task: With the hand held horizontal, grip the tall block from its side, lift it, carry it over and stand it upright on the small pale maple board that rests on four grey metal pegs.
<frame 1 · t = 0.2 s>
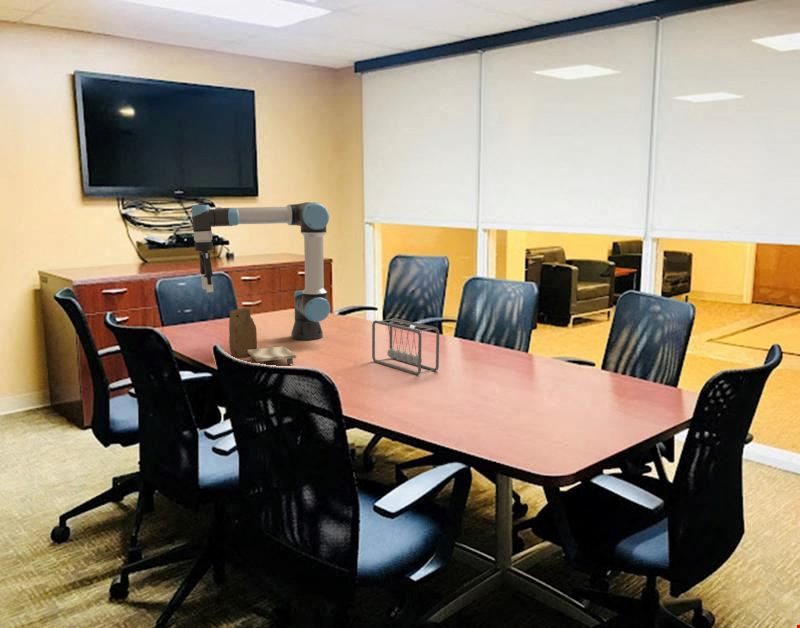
hand: (207, 290, 297), 27 cm above the table, tool pointing down, fingers open, 13 cm apart
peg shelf: (271, 362, 283), on the table
block: (243, 355, 295), on the table
newton's cradle: (404, 367, 278), on the table
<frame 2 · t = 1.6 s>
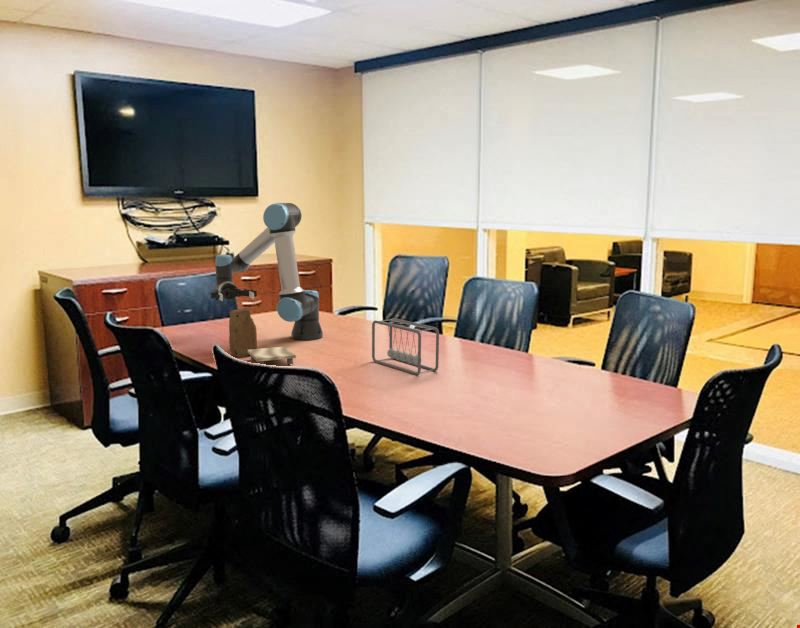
hand: (237, 297, 299), 24 cm above the table, tool horizontal, fingers open, 13 cm apart
nothing on the table moved.
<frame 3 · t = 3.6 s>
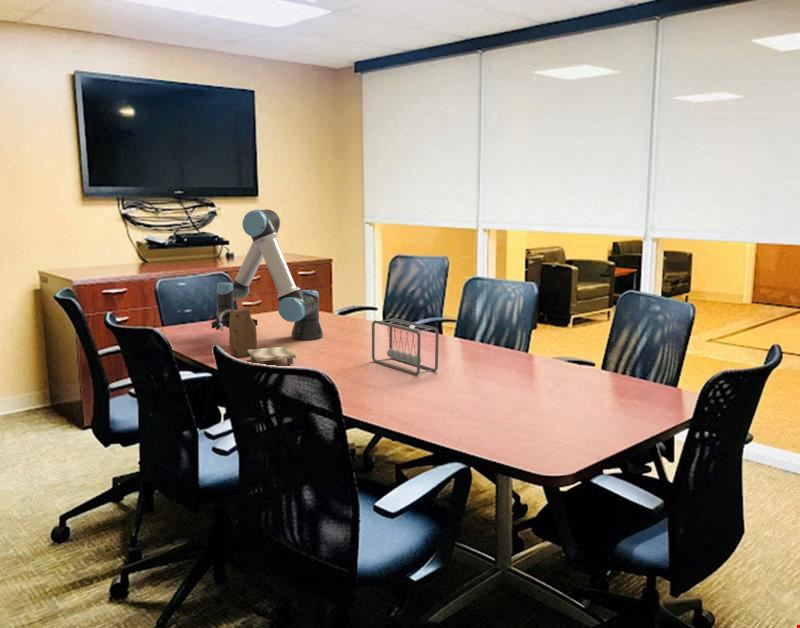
hand: (238, 327, 299), 11 cm above the table, tool horizontal, fingers open, 13 cm apart
nothing on the table moved.
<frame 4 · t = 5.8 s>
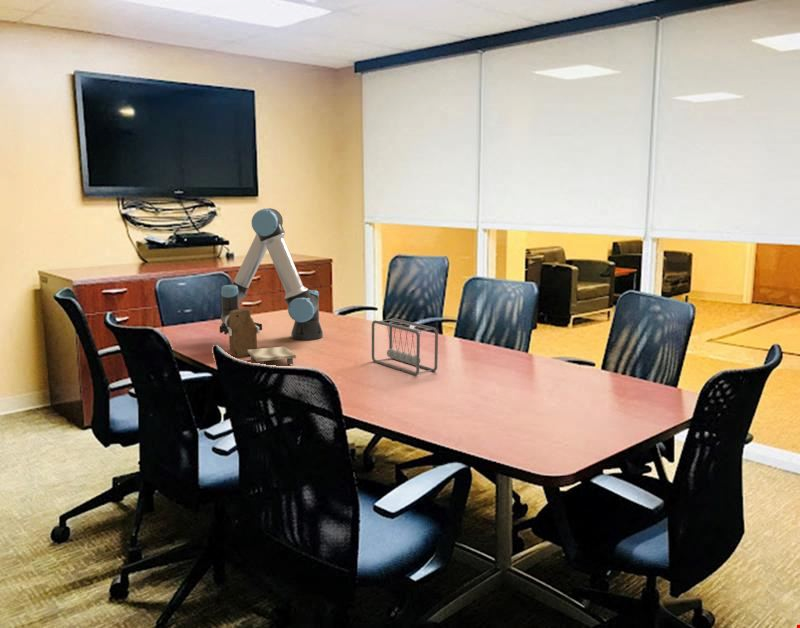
hand: (244, 331, 289), 11 cm above the table, tool horizontal, fingers closed on block, 11 cm apart
block: (243, 355, 295), on the table, touching gripper
everything else where it was.
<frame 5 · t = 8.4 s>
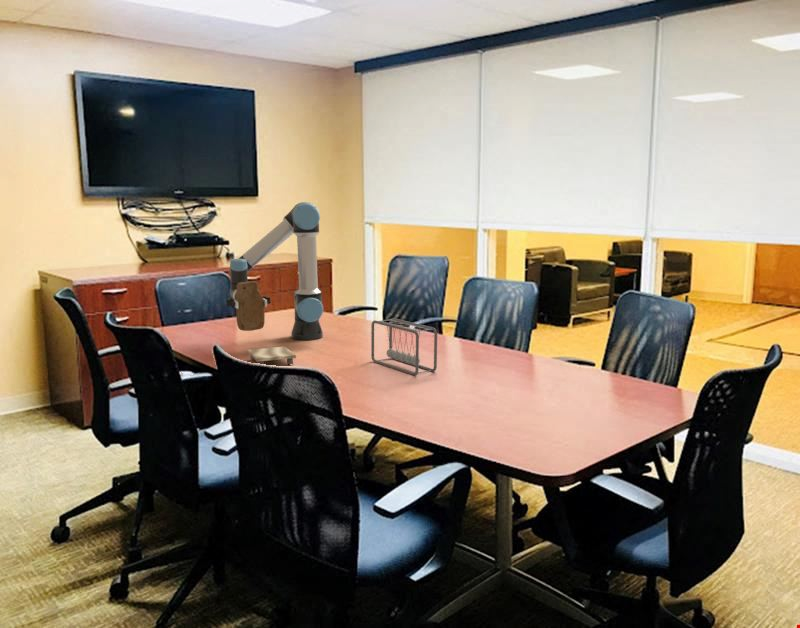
hand: (252, 304, 280), 24 cm above the table, tool horizontal, fingers closed on block, 11 cm apart
block: (251, 329, 286), point 13 cm above the table, touching gripper
everything else where it was.
when the fingers open (17 cm above the table, at t = 11.0 s): block drops 1 cm, resting on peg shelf.
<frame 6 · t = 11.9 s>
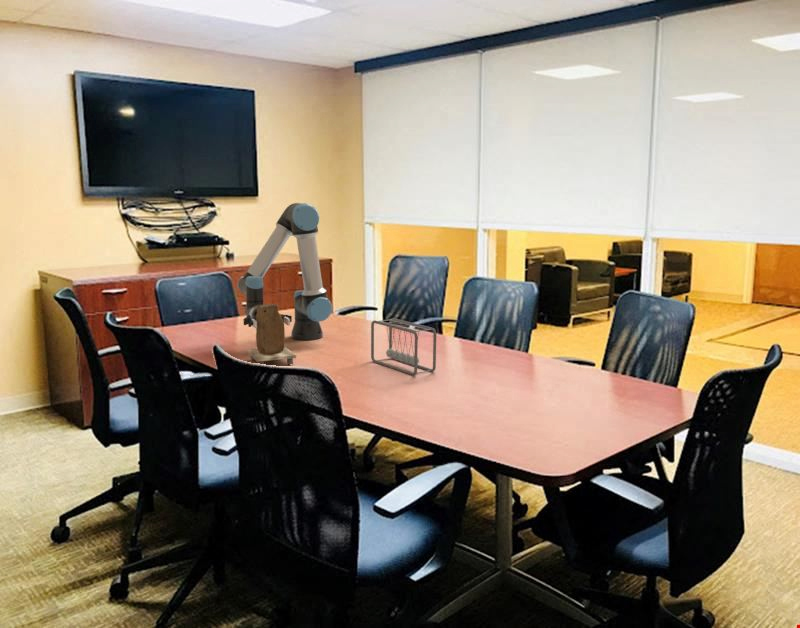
hand: (272, 323, 278), 17 cm above the table, tool horizontal, fingers open, 13 cm apart
block: (271, 352, 282), point 4 cm above the table, touching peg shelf
everything else where it was.
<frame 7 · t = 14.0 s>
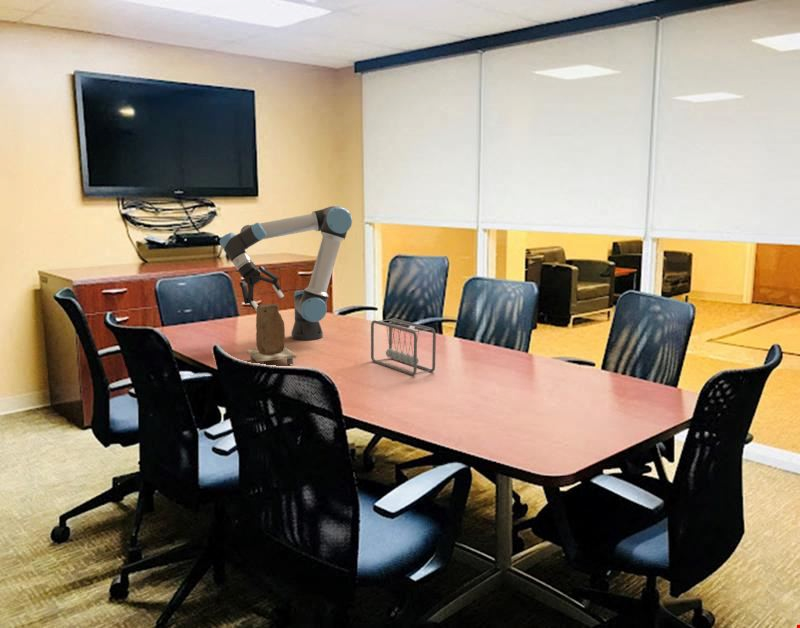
hand: (271, 305, 301), 20 cm above the table, tool tilted 35°, fingers open, 13 cm apart
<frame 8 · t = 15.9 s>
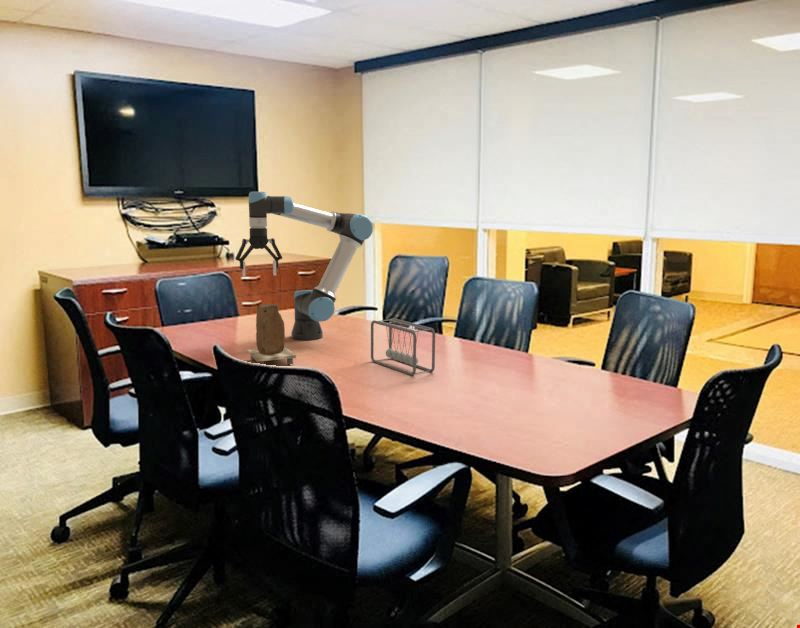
hand: (259, 276, 302), 33 cm above the table, tool pointing down, fingers open, 13 cm apart
at the end: block inside the target area on the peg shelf (0.1 cm from its centre), point 4.0 cm above the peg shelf's base; block touching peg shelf; block tilted 0° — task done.
